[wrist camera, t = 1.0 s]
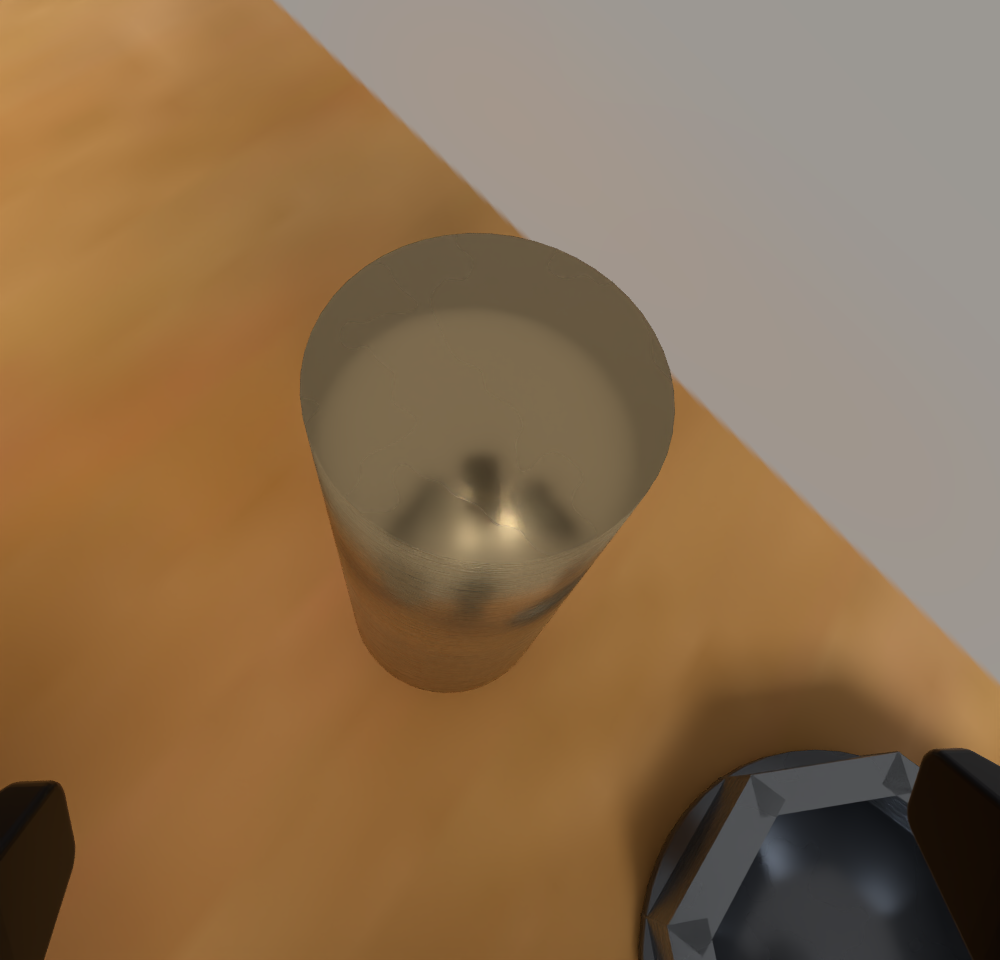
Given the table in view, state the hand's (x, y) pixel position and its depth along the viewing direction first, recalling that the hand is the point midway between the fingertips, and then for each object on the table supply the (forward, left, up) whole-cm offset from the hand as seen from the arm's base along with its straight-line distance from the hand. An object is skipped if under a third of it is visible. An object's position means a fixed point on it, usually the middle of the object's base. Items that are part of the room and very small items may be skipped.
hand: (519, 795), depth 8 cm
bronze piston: (+6, -1, -14) cm, 15 cm away
